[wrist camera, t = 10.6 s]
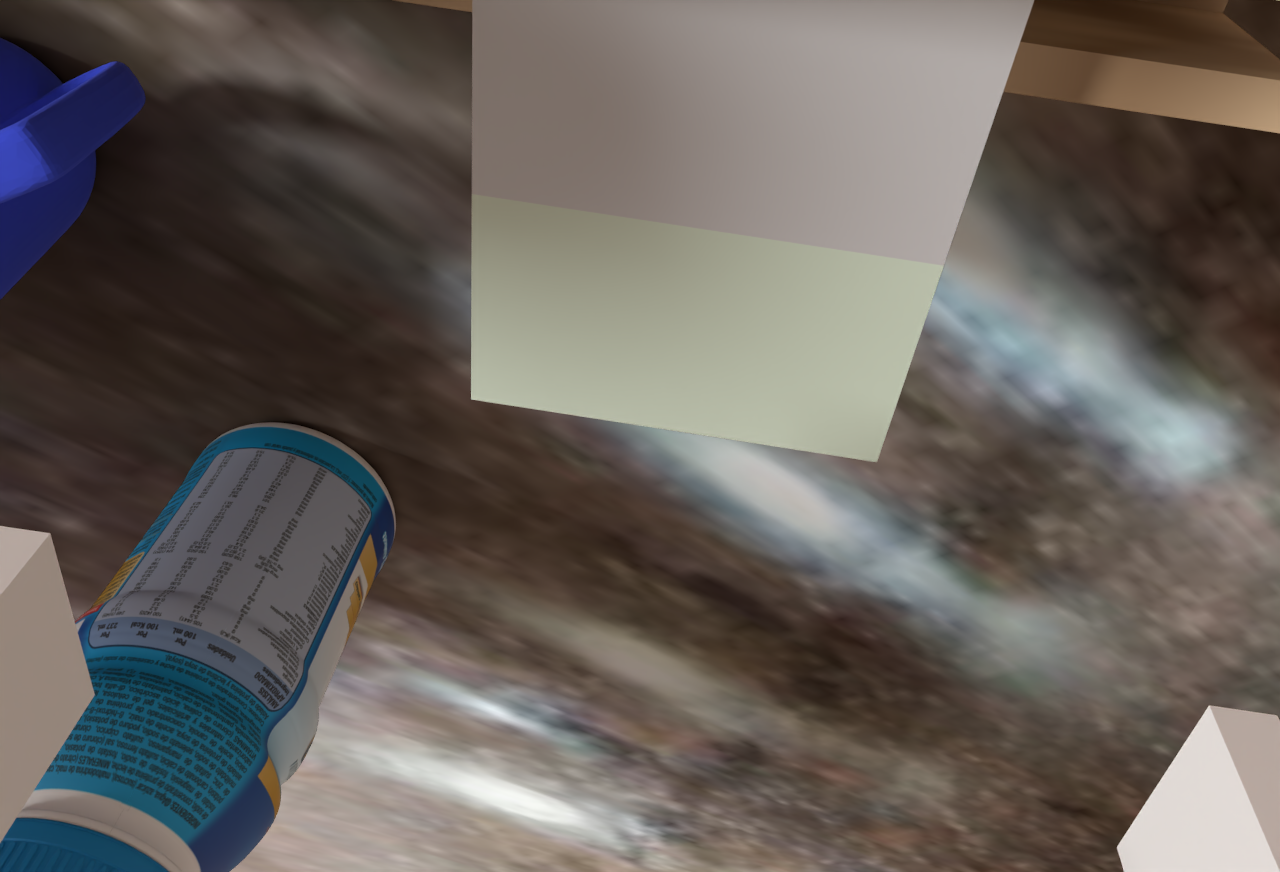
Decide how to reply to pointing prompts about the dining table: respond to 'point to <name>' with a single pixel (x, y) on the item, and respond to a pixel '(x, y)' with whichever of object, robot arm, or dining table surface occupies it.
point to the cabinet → (722, 205)
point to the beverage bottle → (211, 660)
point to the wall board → (1136, 59)
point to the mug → (51, 149)
